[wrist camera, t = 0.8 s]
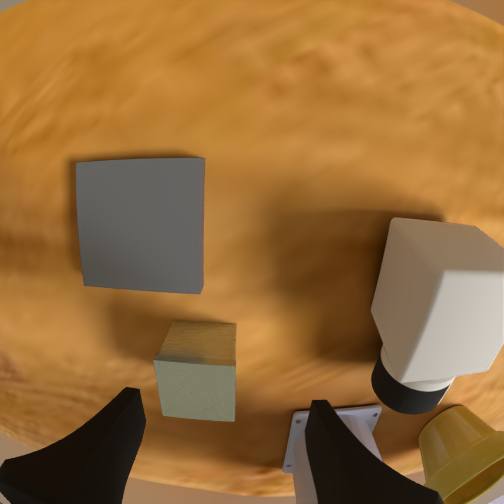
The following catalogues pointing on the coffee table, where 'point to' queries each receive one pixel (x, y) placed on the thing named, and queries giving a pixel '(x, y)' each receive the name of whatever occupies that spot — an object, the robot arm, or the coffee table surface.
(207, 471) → the coffee table surface
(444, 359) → the medicine bottle
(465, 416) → the plant pot
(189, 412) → the grey green cube
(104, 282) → the block
